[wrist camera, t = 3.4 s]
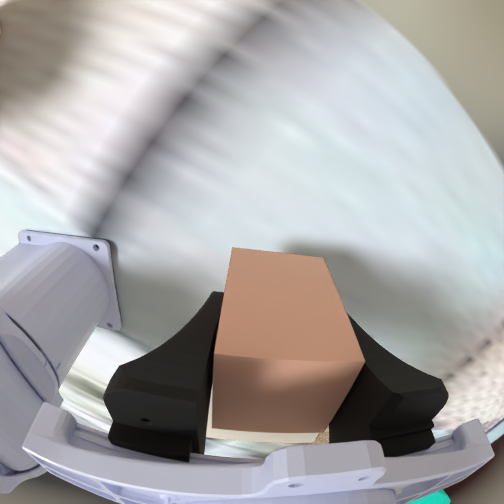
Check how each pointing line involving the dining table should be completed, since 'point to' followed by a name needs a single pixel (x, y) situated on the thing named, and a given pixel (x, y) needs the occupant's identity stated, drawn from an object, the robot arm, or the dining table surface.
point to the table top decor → (433, 499)
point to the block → (281, 346)
